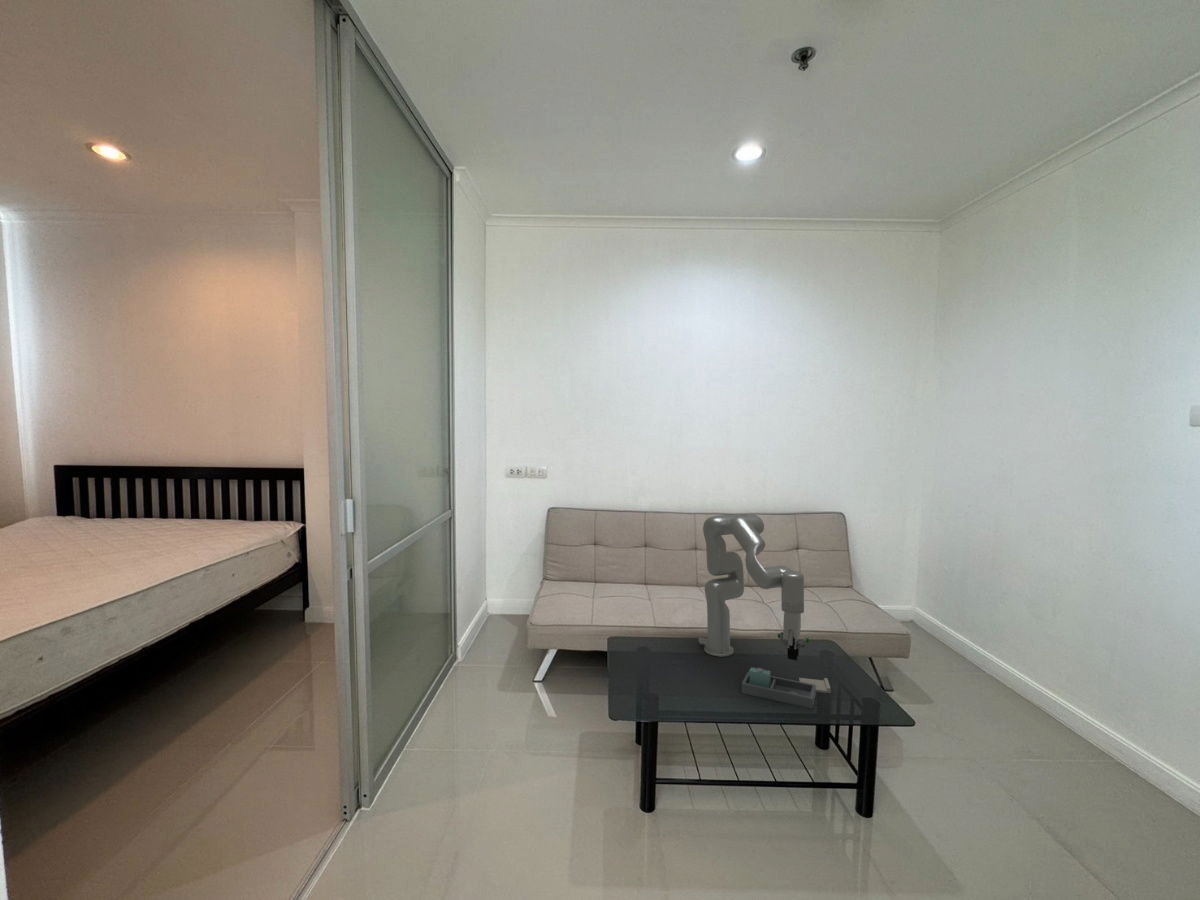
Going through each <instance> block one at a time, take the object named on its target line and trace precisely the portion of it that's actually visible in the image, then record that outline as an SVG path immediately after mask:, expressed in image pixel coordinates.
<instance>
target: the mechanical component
mask: <svg viewBox="0 0 1200 900" xmlns="http://www.w3.org/2000/svg"><path fill="white" fill-rule="evenodd" d="M777 638H778V639H780V641H779V642H780V644H781V645H782V646H784V647H788V637H787V639H786V640H784V639H783V631H781V632H780V633H777ZM793 640H795V639H793ZM809 641H810V639H809V637H807V636H804V637H803V639H800V638H799V639H798V641H797V642H796V649H797V648H799V649H802V650H804V649H806V646H807V644H808V643H809ZM793 643H794V642H793ZM809 644H810V643H809ZM796 661H797V660H792V659H790V662H791V664H792V665H796V663H797V662H796Z"/></svg>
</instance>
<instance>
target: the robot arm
mask: <svg viewBox="0 0 1200 900" xmlns="http://www.w3.org/2000/svg"><path fill="white" fill-rule="evenodd" d="M764 531H765V523H764V522H763V519H762V518H761V517H760V516H759V515H757V514H747V513H732V514H722V515H721V514H719V515H714V516H710V517H707V519H705V521H704V522H703V527H702V532H703V536H704V541H705V547H706V548H705V550H706V568H707V571H708V574H709V575H711V576H714V577H718V576H719V577H718V578H713V579H710V580H708V581H706V583H705V584H704V585H705V586H704V594H705V599H706V611H707V612H706V615H707V616H706V619H707V624H706V625H707V626H706V627H707V637H706V638H704V637H701V636H699V637H698V639H697V640H698V643H699V644H700V645H704V647H703V650H704V652H705V653H707V654H708V655H710V656H713V657H719V658H720V657H721V658H722V657H730V656H731V655H733V654H734V647H733V646H731V630H730V629H731V628H730V627H731V622H730V621H731V620H730V619H731V618H730V617H731V615H730V609H729V607H728V605H727V604H726V601H730V600H734V599H738V598H740V597H742V596H743V594H744V591H745V581H744V580H745V579H744V563H743V560H742V557H741V556H740V554H739V553H737V552H735V551H727V544H726V541H725V539H724V538H723V536H729V535H733V536H734V538H735V540H736V541H737V542H738V544H739V545H740V547H741V548H742V550H743V551H744V552H745V561H744V562H745V567H746V570H747V573H748V575H749V576H750V578H751V579H752V581H753V582H754V583H755V584H756V585H757V586H758V587H759V588H760V589H763V590H769V589H776V588H781V594H780V595H781V611H782V612H783V625H782V626H783V627H782V628H783V631H782V632H783V639H784V640H788V646H787V659H788V660H791V659H792V660H796V661H797V660H798V657H799V654H800V653H799V649H800V648H797V649H796V642H797V641H798V639H799V640H800V636H801V631H802V630H801V627H802V625H801V623H802V614H803V613H805V583H804V582H805V577H804V574H803V573H802V572H800V571H797V570H793V569H791V568H790V567H788V566H786V565H775V566H769V567H763V565H762V564H761V563H760V562H759V560H758V558H757V556H758V555H760V554H761V553H762V552H763V550H764V549H765V548H766V541H765V539H763V538H762V536H761V534H762V533H763V532H764ZM725 575H727V576H725ZM720 576H725V577H720ZM787 637H788V638H787ZM793 639H795V640H793ZM793 642H794V643H793Z"/></svg>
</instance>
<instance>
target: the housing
mask: <svg viewBox="0 0 1200 900" xmlns="http://www.w3.org/2000/svg"><path fill="white" fill-rule="evenodd" d="M771 672H772V671H771V670H766V669H764V668H761V667H750V669H749V670H748V671H747V673H746V674H745V676H744V678H743V680H742V682H741V694H744V695H747V696H748V695H749V696H753V697H757V698H763V699H765V700H769V701H770V700H772V701H775V702H780V703H785V704H789V705H793V706H798V707H802V708H807V709H811V710H812V709H814V706H815V705H814V704H815V699H816V695H817V693H816V685H814V684H809V683H804V682H799V680H798V681H797V680H793V679H789V678H785V677H779V676H773V675H771V674H772V673H771Z"/></svg>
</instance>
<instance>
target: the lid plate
mask: <svg viewBox="0 0 1200 900" xmlns="http://www.w3.org/2000/svg"><path fill="white" fill-rule="evenodd" d="M798 681H799V682H804V683H809V684H814V685H816V692H817V693H823V694H832V690H831V685H830V681H829V680H828V678H827V677H824V678H823V679H813V678H806V677H805V678H803V677H798Z"/></svg>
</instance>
